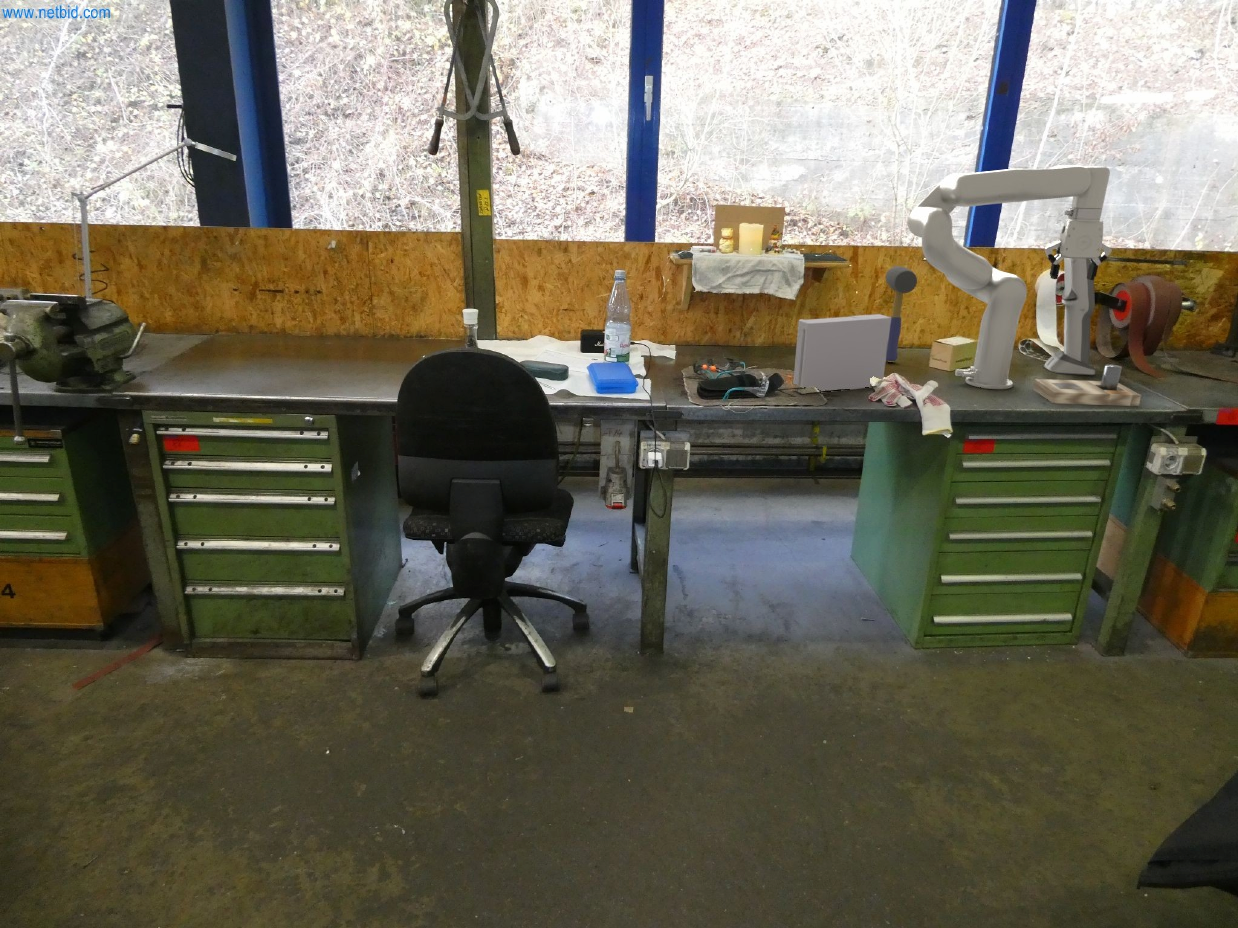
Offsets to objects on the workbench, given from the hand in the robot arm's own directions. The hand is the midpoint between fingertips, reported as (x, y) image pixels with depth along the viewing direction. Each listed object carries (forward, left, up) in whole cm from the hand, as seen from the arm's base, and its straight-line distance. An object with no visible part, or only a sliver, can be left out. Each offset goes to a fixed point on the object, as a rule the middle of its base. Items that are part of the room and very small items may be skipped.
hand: (1071, 279), depth 224 cm
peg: (+10, -13, -30) cm, 34 cm away
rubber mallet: (-41, +22, -31) cm, 56 cm away
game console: (-63, -12, -31) cm, 71 cm away
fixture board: (+4, -13, -30) cm, 33 cm away
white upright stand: (+13, +19, -31) cm, 38 cm away
